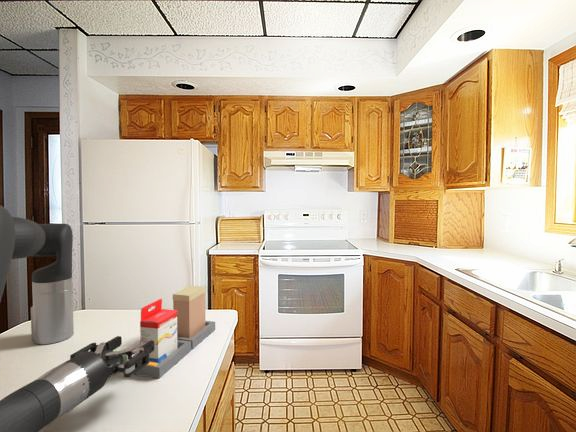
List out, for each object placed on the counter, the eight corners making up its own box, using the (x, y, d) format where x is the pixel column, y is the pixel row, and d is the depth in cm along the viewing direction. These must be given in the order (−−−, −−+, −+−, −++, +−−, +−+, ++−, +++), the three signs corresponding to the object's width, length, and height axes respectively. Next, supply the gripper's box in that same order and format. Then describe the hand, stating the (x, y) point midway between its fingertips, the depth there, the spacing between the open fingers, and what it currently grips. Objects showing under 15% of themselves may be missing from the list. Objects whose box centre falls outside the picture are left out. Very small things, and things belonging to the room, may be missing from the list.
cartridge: (173, 343, 87) (172, 294, 86) (190, 330, 96) (190, 285, 95) (189, 345, 86) (189, 295, 85) (205, 331, 95) (205, 286, 94)
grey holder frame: (124, 372, 72) (124, 361, 72) (188, 326, 99) (188, 317, 98) (159, 378, 70) (159, 366, 70) (215, 329, 96) (215, 320, 96)
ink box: (158, 371, 73) (157, 310, 72) (139, 369, 74) (139, 308, 73) (178, 353, 81) (177, 298, 80) (161, 352, 82) (160, 297, 81)
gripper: (103, 368, 51) (164, 329, 67) (36, 357, 55) (109, 322, 71) (104, 412, 52) (164, 362, 68) (38, 398, 55) (110, 354, 71)
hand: (136, 342), depth 69 cm, fingers open, 8 cm apart
